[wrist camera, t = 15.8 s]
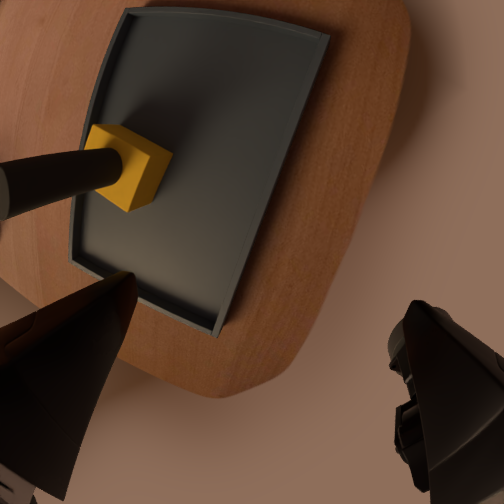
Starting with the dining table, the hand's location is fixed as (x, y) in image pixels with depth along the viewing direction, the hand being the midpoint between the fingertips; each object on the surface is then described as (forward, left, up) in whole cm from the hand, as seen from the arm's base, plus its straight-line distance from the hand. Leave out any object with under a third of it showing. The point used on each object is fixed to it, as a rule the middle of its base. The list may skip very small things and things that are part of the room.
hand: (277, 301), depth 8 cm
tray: (+11, 0, -13) cm, 17 cm away
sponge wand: (+13, +1, -12) cm, 18 cm away
